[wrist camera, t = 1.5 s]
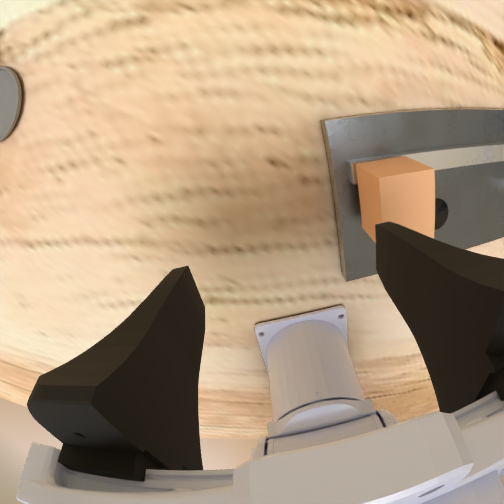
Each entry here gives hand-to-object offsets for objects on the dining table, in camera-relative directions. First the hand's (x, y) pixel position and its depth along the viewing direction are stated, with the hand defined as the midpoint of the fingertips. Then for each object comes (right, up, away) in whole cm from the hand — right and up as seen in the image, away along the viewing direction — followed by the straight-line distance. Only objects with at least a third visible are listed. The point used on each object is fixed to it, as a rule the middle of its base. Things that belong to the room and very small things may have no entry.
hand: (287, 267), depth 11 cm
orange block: (+7, +4, +8) cm, 12 cm away
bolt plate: (+16, +7, +9) cm, 20 cm away
